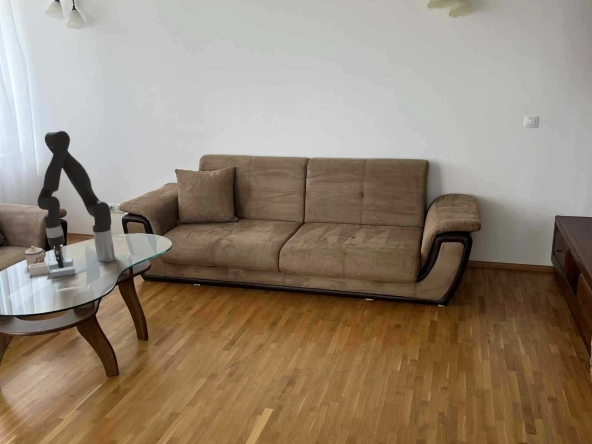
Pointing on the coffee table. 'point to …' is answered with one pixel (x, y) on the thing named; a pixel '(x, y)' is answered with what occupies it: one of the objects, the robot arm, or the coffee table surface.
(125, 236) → the coffee table surface
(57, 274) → the mat
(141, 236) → the coffee table surface
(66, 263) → the lid
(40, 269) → the white open cubby box
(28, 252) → the teacup with lid
